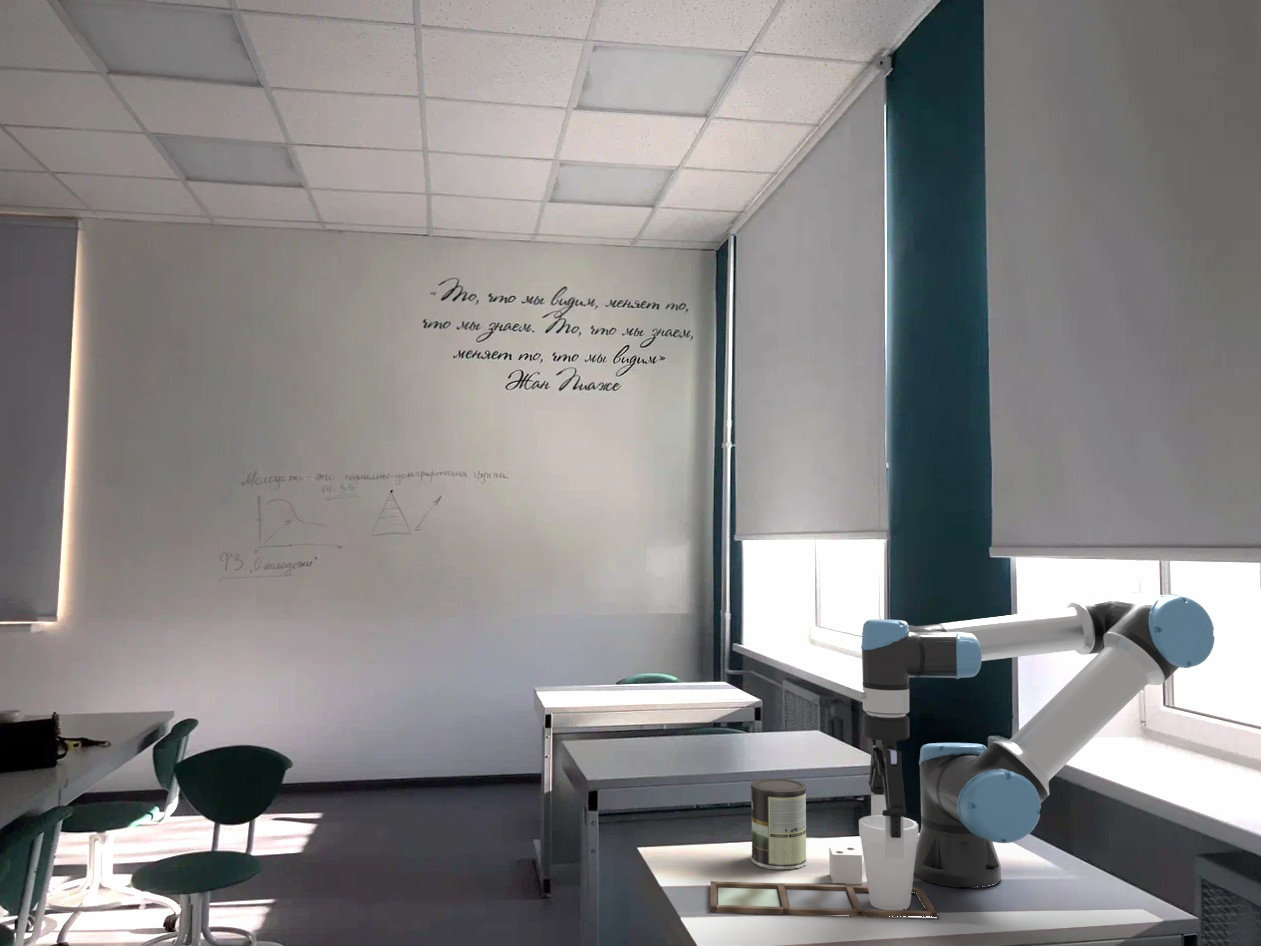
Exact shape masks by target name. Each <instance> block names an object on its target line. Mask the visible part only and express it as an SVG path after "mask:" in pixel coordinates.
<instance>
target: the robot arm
mask: <svg viewBox="0 0 1261 946" xmlns="http://www.w3.org/2000/svg"><path fill="white" fill-rule="evenodd" d="M1214 630H1215V628H1214V624H1213V622H1212V619H1211V617H1210V615H1209V613H1208V612H1207V611H1206V609H1205V608H1204V607H1203V606H1202V605H1201V604H1200V603H1198V602H1197V601H1195V600H1193V599H1192V598H1188V597H1185V596H1180V595H1177V594H1173V593H1168V594H1152V593H1139V592H1126V593H1119V594H1118V593H1117V594H1113V595H1110V596H1109V595H1108V596H1104V597H1099V598H1094V599H1088V600H1082V601H1074V602H1071V603H1069V604H1068V605H1067V607H1066V608H1063V609H1062V608H1061V609H1054V610H1046V611H1038V612H1029V613H1027V612H1026V613H1019V614H1011V615H1003V616H994V617H985V618H976V619H970V620H968V619H967V620H959V621H951V622H942V623H937V624H928V625H927V624H925V625H917V626H916V625H913V624H908V622H907V621H905V620H901V619H884V618H883V619H880V618H879V619H869V620H866V621H865V622H864V623H863V626H862V633H861V646H860V647H861V648H860V649H861V661H862V662H861V664H862V668H861V669H862V691H863V692H859V694H858V697H859V699H862V709H863V711H864V712H865V713H863V714H862V735H863V736H864V737H865V738H867V739H870V740H871V753H870V766H869V777H868V786H869V787H870V788H869V789H870V792H871V794H870V799H871V800H870V805H871V806H870V810H871V812H870V813H871V814H870V816H872V815H883V816H885V856H886V858H904V832H903V817H904V816H906V815H907V812H908V811H907V809H906V808H907V807H906V796H905V784H904V775H903V765H902V764H903V763H902V762H903V761H902V757H903V753H902V750H898V748H897V742H898V741H905V740H908V739H909V738H910V717H909V716H908V715H907V714H908V713H909V712H910V684H909V683H910V678H942V679H943V678H944V679H945V678H949V679H951V678H953V679H956V680H958V679H960V678H973V677H976V676H977V674H978V673H979V672H980V670H981V667H982V662H985V661H991V660H992V661H994V660H1001V659H1009V658H1011V659H1012V658H1017V657H1018V658H1019V657H1026V656H1036V655H1045V654H1052V653H1053V654H1054V653H1060V652H1069V651H1075V652H1076V653H1078V654H1080V655H1083V656H1084V655H1093V654H1097V655H1095V657H1093V658H1092V659H1091V660H1090V661H1089V662H1088V663H1087V664H1086V665H1085V666H1084V667H1083V668H1082V669H1081V670H1080V671H1079V672H1078V673H1077V674H1076V675H1074V677H1073V678H1072V679H1071V680H1070V681H1069V682H1068V683H1066V684H1065V686H1063V688H1061V689H1060V691H1058V692H1057V693H1056V694H1055V695H1054V696H1053V697H1052V698H1051V699H1050V700H1049V701H1048V702H1047V703H1046V704H1045V705H1044V706H1043V707H1042V708H1041V709H1040V710H1039V711H1038V712H1037V713H1035V715H1034V716H1032V717H1031V719H1029V720H1028V721H1027V722H1026V723H1025V724H1024V725H1023V726H1022V727H1021V728H1020V729H1019V730H1018V731H1017V732H1016V733H1015V734H1014V735H1013V736H1012V737H1011V738H1009V740H1007V741H999V740H994V741H993V742H991V744H990V745H988V746H986V745H984V744H980V743H969V742H936V743H935V742H934V743H927V744H923V745H922V746H921V747H920V754H919V761H918V766H919V782H920V783H919V785H920V786H919V787H920V788H919V789H920V814H921V815H920V816H921V817H920V819H921V821H920V822H921V828H920V831H919V833H918V838H919V840H918V841H917V847H916V856H915V866H914V875H915V876H916V877H918V879H922V880H923V881H925V880H926V882H928V881H929V882H928V883H931V882H932V883H931V884H935V883H936V884H935V885H941V886H944V885H945V886H944V887H950V886H952V887H951V888H959V887H977V886H978V887H982V886H988V885H992V884H995V883H997V882H999V881H1000V880H1001V881H1002V865H1001V863H1000V860H999V857H998V854H997V850H996V848H995V844H994V843H998V844H1010V843H1014V842H1018V841H1021V840H1023V839H1024V838H1025V837H1027V836H1028V835H1030V834H1031V833H1032V832H1033V831H1034V829H1035V828H1036V826H1037V824H1038V822H1039V820H1040V817H1041V814H1040V810H1041V808H1042V803H1043V802H1044V801H1045V800H1046V799H1047V798H1048V797H1049V796H1050V787H1049V784H1050V783H1049V782H1050V780H1051V779H1052V778H1053V777H1054V776H1055V775H1056V774H1057V773H1058V772H1059V771H1060V770H1061V769H1063V768H1064V767H1065V766H1066V765H1067V764H1068V762H1069V761H1071V760H1072V758H1074V757H1075V756H1076V755H1077V754H1078V753H1079V751H1081V750H1082V749H1083V748H1084V747H1085V746H1086V745H1087V744H1088V743H1089V742H1090V741H1091V740H1092V739H1093V738H1094V737H1095V736H1096V735H1097V734H1098V733H1099V732H1100V731H1101V730H1102V729H1103V728H1104V727H1105V726H1106V725H1107V724H1108V723H1109V722H1110V721H1112V719H1114V718H1115V716H1117V714H1119V713H1120V712H1121V711H1122V709H1124V708H1125V706H1127V705H1128V704H1129V703H1130V702H1131V700H1133V699H1134V698H1135V697H1136V696H1137V695H1138V694H1139V693H1140V692H1141V691H1142V690H1143V689H1144V688H1145V687H1146V686H1148V685H1154V686H1161V685H1162V684H1164V683H1165V682H1166V681H1167V680H1169V678H1170V677H1172V675H1173V674H1174V673H1175V672H1176V671H1177V670H1178V669H1179V668H1183V669H1189V668H1193V667H1196V666H1199V665H1200V664H1203V662H1205V661H1206V660H1207V659H1208V657H1209V656H1210V654H1211V652H1212V650H1213V648H1214V645H1215V636H1214ZM1001 881H1000V882H1001ZM1000 882H999V883H1000Z"/></svg>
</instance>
